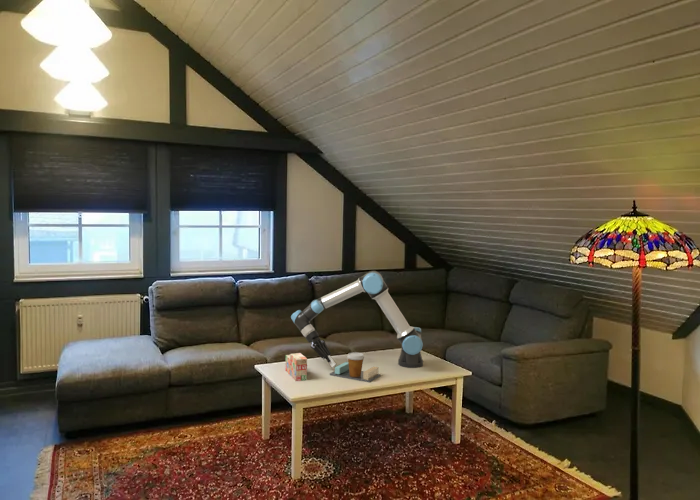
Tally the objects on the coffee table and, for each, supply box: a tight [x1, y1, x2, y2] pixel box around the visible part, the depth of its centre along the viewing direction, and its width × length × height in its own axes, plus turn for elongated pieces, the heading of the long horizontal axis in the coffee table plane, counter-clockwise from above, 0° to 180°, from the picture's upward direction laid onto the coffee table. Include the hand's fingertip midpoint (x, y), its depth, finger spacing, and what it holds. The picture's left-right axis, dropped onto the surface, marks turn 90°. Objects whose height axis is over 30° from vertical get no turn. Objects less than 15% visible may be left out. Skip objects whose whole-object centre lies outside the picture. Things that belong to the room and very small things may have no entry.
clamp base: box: [329, 366, 381, 383], centre depth 317 cm, size 25×14×5 cm, turn 62°
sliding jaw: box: [334, 361, 349, 374], centre depth 321 cm, size 3×13×4 cm, turn 152°
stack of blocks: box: [284, 352, 308, 382], centre depth 315 cm, size 21×6×12 cm, turn 22°
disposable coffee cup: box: [346, 351, 365, 377], centre depth 314 cm, size 10×10×12 cm
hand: (334, 365), depth 323 cm, fingers closed
